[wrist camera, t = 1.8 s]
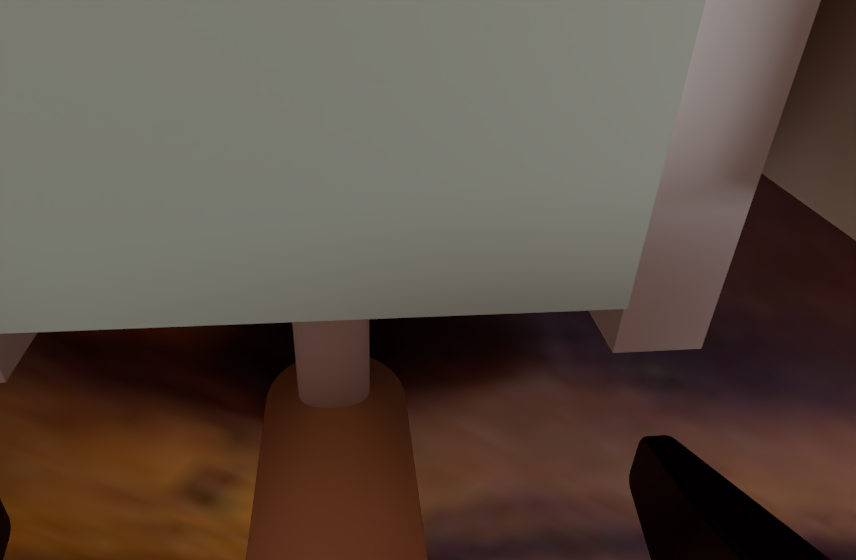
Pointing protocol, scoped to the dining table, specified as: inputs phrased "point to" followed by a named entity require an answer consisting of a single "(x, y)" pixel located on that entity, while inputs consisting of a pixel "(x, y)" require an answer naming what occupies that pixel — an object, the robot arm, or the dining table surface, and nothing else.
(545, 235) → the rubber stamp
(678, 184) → the lane rack
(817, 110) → the ash block
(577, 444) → the dining table surface
